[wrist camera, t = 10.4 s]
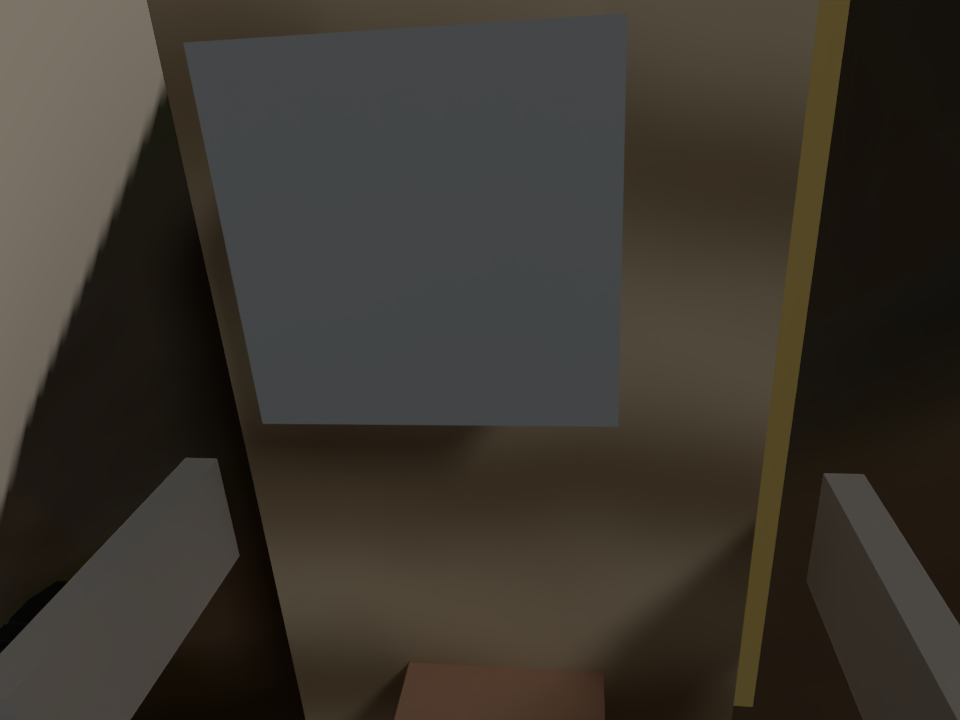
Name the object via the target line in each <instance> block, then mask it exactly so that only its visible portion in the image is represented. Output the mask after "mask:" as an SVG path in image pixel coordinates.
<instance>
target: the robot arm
mask: <svg viewBox="0 0 960 720" xmlns="http://www.w3.org/2000/svg"><path fill="white" fill-rule="evenodd" d="M239 556H240V555H239V551H238V547H237V543H236V538H235V534H234V530H233V525H232V521H231V517H230V512H229V508H228V504H227V499H226V495H225V491H224V486H223V482H222V478H221V474H220V469H219V465H218V461H217V459H213V458H185V459H184V460H183V461H182V462H181V463H180V465H179V466H178V467H177V468H176V469H175V470H174V471H173V472H172V473H171V474H170V475H169V476H168V477H167V478H166V479H165V480H164V481H163V482H162V483H161V485H160V486H159V487H158V488H157V489H156V490H155V491H154V492H153V493H152V494H151V495H150V496H149V497H148V498H147V499H146V500H145V501H144V502H143V504H142V505H141V506H140V507H139V508H138V509H137V510H136V511H135V512H134V513H133V514H132V515H131V516H130V517H129V518H128V519H127V520H126V521H125V523H124V524H123V525H122V526H121V527H120V528H119V529H118V530H117V531H116V532H115V533H114V534H113V535H112V536H111V537H110V538H109V539H108V540H107V542H106V543H105V544H104V545H103V546H102V547H101V548H100V549H99V550H98V551H97V552H96V553H95V554H94V555H93V556H92V557H91V558H90V559H89V560H88V562H87V563H86V564H85V565H84V566H83V567H82V568H81V569H80V570H79V571H78V572H77V573H76V574H75V575H74V576H73V577H72V578H71V579H70V581H69V582H65V581H57V582H55V583H54V584H52V585H51V586H49V587H47V588H46V589H44V590H43V591H41V592H40V593H38V594H37V595H35V596H33V597H32V598H30V599H29V600H28V601H27V602H26V603H25V604H24V605H23V606H22V607H21V608H20V609H19V610H18V611H17V612H16V613H15V614H14V615H13V616H12V617H11V618H10V619H9V622H8V624H7V625H5V624H4V625H3V626H2V627H1V628H0V720H131V718H132V717H133V715H134V714H135V712H136V711H137V709H138V708H139V706H140V705H141V703H142V702H143V700H144V699H145V697H146V696H147V694H148V693H149V691H150V690H151V688H152V687H153V685H154V684H155V682H156V681H157V679H158V678H159V676H160V675H161V673H162V672H163V670H164V669H165V667H166V666H167V664H168V663H169V661H170V660H171V658H172V657H173V655H174V654H175V652H176V651H177V649H178V648H179V646H180V645H181V643H182V642H183V640H184V639H185V637H186V636H187V634H188V633H189V631H190V630H191V628H192V627H193V625H194V624H195V622H196V621H197V619H198V618H199V616H200V615H201V613H202V612H203V610H204V609H205V607H206V606H207V604H208V603H209V601H210V600H211V598H212V596H213V595H214V593H215V592H216V590H217V589H218V587H219V586H220V584H221V583H222V581H223V580H224V578H225V577H226V575H227V574H228V572H229V571H230V569H231V568H232V566H233V565H234V563H235V562H236V560H237V559H238V557H239ZM807 583H808V586H809V588H810V591H811V593H812V596H813V598H814V601H815V603H816V605H817V608H818V610H819V613H820V615H821V618H822V620H823V623H824V625H825V628H826V630H827V633H828V635H829V638H830V640H831V643H832V645H833V647H834V650H835V652H836V655H837V657H838V660H839V662H840V665H841V667H842V670H843V672H844V675H845V677H846V680H847V682H848V685H849V687H850V689H851V692H852V694H853V697H854V699H855V702H856V704H857V707H858V709H859V712H860V714H861V717H862V719H863V720H960V625H959V624H958V622H957V620H956V619H955V617H954V616H953V614H952V613H951V611H950V609H949V608H948V606H947V605H946V603H945V602H944V600H943V598H942V597H941V595H940V594H939V592H938V590H937V589H936V587H935V586H934V584H933V583H932V581H931V579H930V578H929V576H928V575H927V573H926V572H925V570H924V568H923V567H922V565H921V564H920V562H919V561H918V559H917V557H916V556H915V554H914V553H913V551H912V549H911V548H910V546H909V545H908V543H907V542H906V540H905V538H904V537H903V535H902V534H901V532H900V531H899V529H898V527H897V526H896V524H895V523H894V521H893V520H892V518H891V516H890V515H889V513H888V512H887V510H886V508H885V507H884V505H883V504H882V502H881V501H880V499H879V497H878V496H877V494H876V493H875V491H874V490H873V488H872V486H871V485H870V483H869V482H868V480H867V479H866V477H865V475H864V474H833V473H824V474H823V480H822V487H821V493H820V499H819V506H818V512H817V518H816V525H815V531H814V537H813V544H812V550H811V556H810V562H809V569H808V575H807Z"/></svg>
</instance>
